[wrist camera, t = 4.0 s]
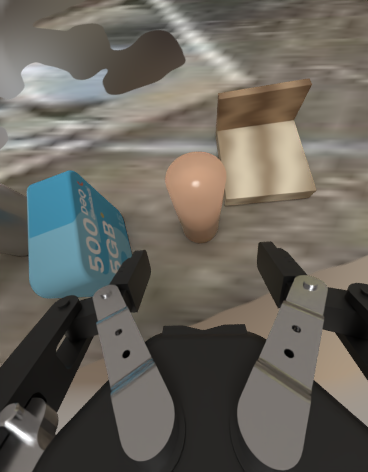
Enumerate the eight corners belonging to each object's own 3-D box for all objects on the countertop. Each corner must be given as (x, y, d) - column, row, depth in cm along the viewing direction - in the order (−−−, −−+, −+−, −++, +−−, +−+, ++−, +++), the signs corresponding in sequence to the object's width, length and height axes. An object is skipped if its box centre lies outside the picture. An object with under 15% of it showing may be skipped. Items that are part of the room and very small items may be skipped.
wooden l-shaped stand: (224, 205, 27) (231, 177, 20) (215, 135, 31) (218, 93, 24) (308, 197, 25) (344, 164, 19) (286, 125, 30) (309, 78, 23)
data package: (139, 285, 25) (82, 280, 13) (110, 296, 25) (27, 300, 13) (122, 213, 28) (67, 162, 17) (97, 223, 29) (24, 178, 17)
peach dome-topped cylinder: (183, 244, 26) (165, 206, 14) (182, 212, 27) (165, 155, 16) (219, 241, 25) (230, 200, 14) (216, 209, 27) (222, 148, 15)
